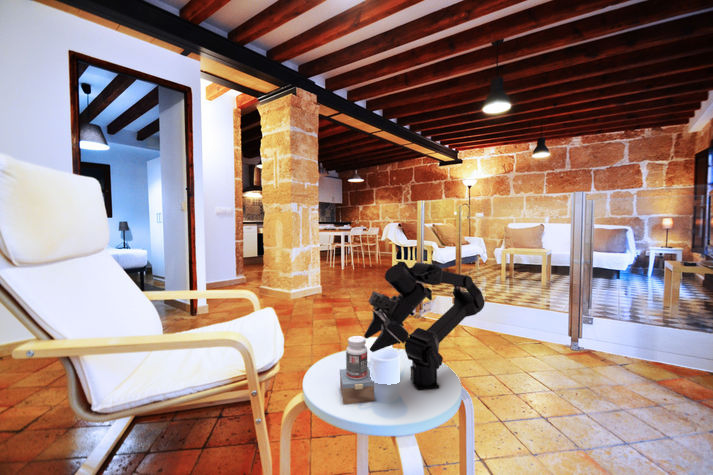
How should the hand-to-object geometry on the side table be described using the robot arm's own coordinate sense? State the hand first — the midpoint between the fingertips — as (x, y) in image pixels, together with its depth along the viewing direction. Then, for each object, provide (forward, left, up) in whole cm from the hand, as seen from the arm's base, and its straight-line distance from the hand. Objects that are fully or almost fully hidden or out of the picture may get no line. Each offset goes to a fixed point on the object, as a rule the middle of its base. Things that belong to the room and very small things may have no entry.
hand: (367, 343), depth 82 cm
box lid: (+3, +1, -10) cm, 10 cm away
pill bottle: (+3, 0, -8) cm, 9 cm away
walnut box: (+3, 0, -13) cm, 14 cm away
